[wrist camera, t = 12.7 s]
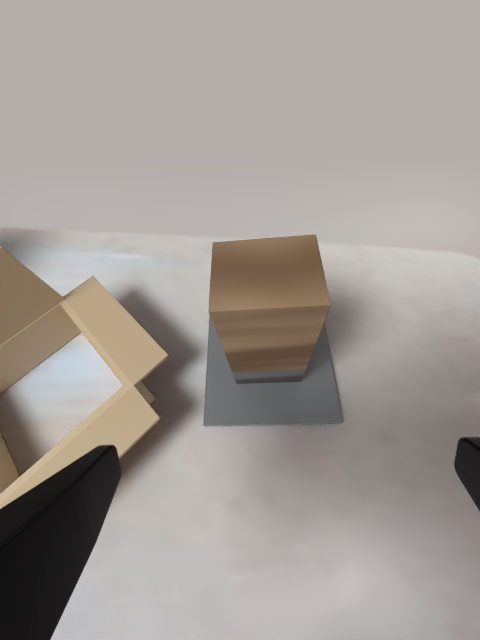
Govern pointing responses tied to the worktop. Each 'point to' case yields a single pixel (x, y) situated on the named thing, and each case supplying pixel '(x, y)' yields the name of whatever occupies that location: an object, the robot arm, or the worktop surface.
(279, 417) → the slate coaster
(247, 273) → the walnut box
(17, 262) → the cardboard carton
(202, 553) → the worktop surface
